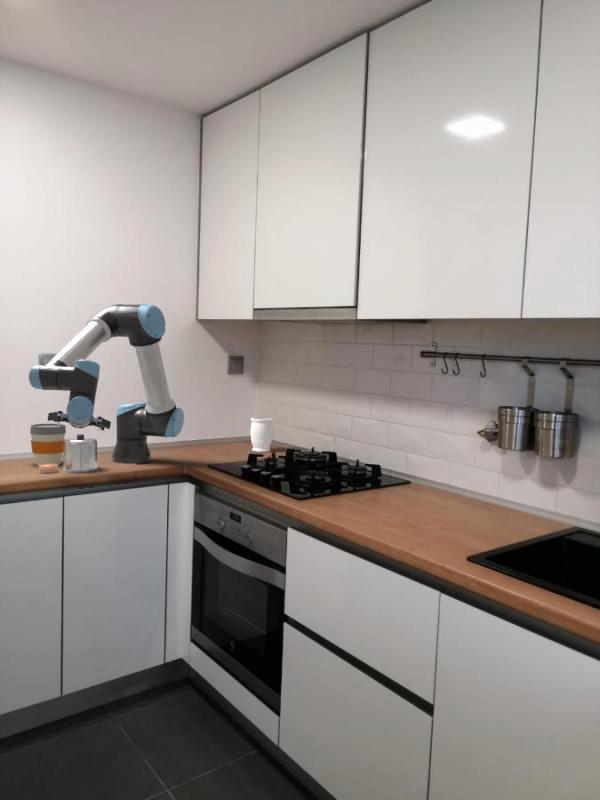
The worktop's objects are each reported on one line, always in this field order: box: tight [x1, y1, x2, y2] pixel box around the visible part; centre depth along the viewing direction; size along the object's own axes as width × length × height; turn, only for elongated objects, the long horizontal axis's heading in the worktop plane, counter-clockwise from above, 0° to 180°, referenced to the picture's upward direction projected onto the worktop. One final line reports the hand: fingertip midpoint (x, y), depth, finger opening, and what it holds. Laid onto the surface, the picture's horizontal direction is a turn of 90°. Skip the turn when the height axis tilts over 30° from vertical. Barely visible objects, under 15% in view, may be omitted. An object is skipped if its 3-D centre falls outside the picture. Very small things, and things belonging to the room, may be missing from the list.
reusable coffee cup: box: [29, 423, 67, 467], centre depth 237 cm, size 12×13×15 cm
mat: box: [59, 466, 101, 475], centre depth 229 cm, size 11×14×1 cm
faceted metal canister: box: [62, 434, 98, 473], centre depth 229 cm, size 11×11×13 cm
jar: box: [250, 416, 274, 453], centre depth 288 cm, size 11×10×15 cm
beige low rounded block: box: [38, 463, 59, 474], centre depth 223 cm, size 6×6×3 cm
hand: (79, 423), depth 222 cm, fingers open, 13 cm apart
